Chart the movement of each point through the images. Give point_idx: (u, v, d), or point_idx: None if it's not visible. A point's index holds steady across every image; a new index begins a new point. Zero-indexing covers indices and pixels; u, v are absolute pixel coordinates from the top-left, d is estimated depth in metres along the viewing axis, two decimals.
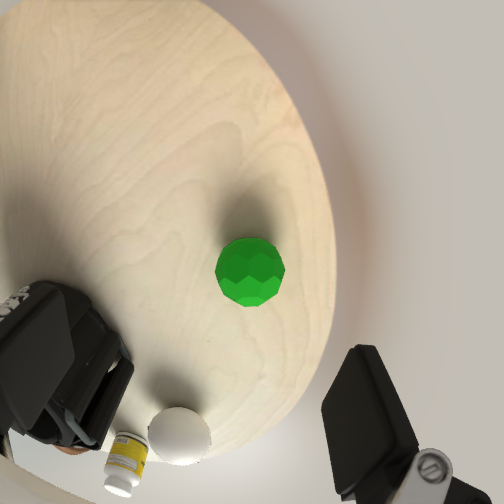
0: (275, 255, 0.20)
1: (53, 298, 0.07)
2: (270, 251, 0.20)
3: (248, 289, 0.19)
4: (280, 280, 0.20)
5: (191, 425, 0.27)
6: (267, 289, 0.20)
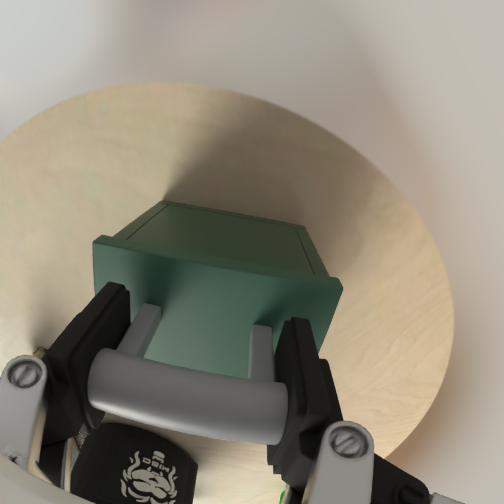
0: None
1: (123, 296, 0.08)
2: None
3: None
4: None
5: None
6: None
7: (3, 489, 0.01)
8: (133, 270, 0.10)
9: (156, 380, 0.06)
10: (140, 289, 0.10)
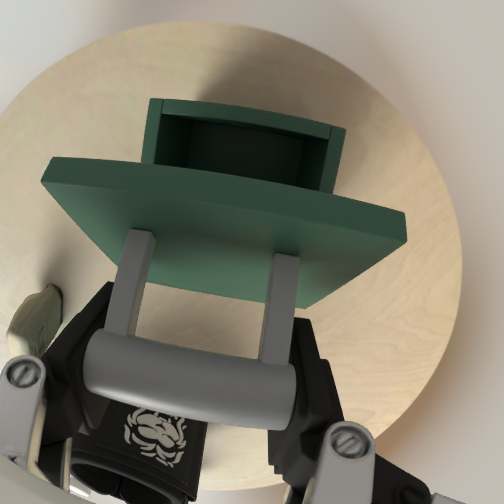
0: None
1: None
2: None
3: None
4: None
5: None
6: None
7: (3, 489, 0.01)
8: (102, 204, 0.06)
9: (150, 389, 0.06)
10: (120, 217, 0.07)
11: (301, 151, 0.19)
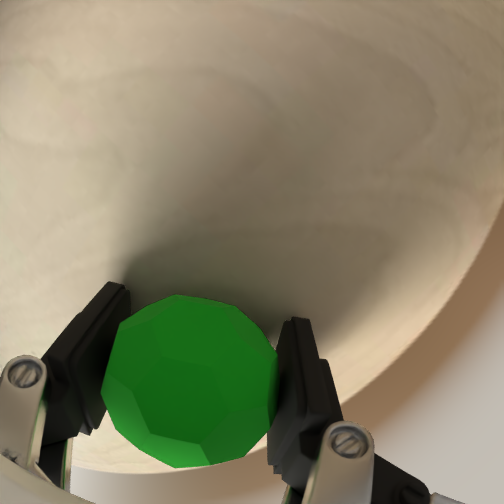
0: (275, 410, 0.07)
1: (122, 296, 0.08)
2: (274, 397, 0.07)
3: (168, 453, 0.05)
4: None
5: None
6: None
7: (3, 489, 0.01)
8: None
9: None
10: None
11: None
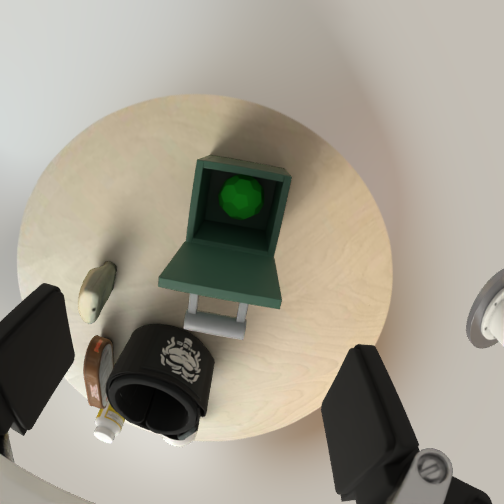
0: (262, 201, 0.32)
1: (53, 298, 0.07)
2: (262, 197, 0.31)
3: (238, 201, 0.30)
4: (253, 214, 0.31)
5: None
6: (245, 211, 0.31)
7: (3, 489, 0.01)
8: None
9: (204, 330, 0.23)
10: None
11: (275, 180, 0.34)
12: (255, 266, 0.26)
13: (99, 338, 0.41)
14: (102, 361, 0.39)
